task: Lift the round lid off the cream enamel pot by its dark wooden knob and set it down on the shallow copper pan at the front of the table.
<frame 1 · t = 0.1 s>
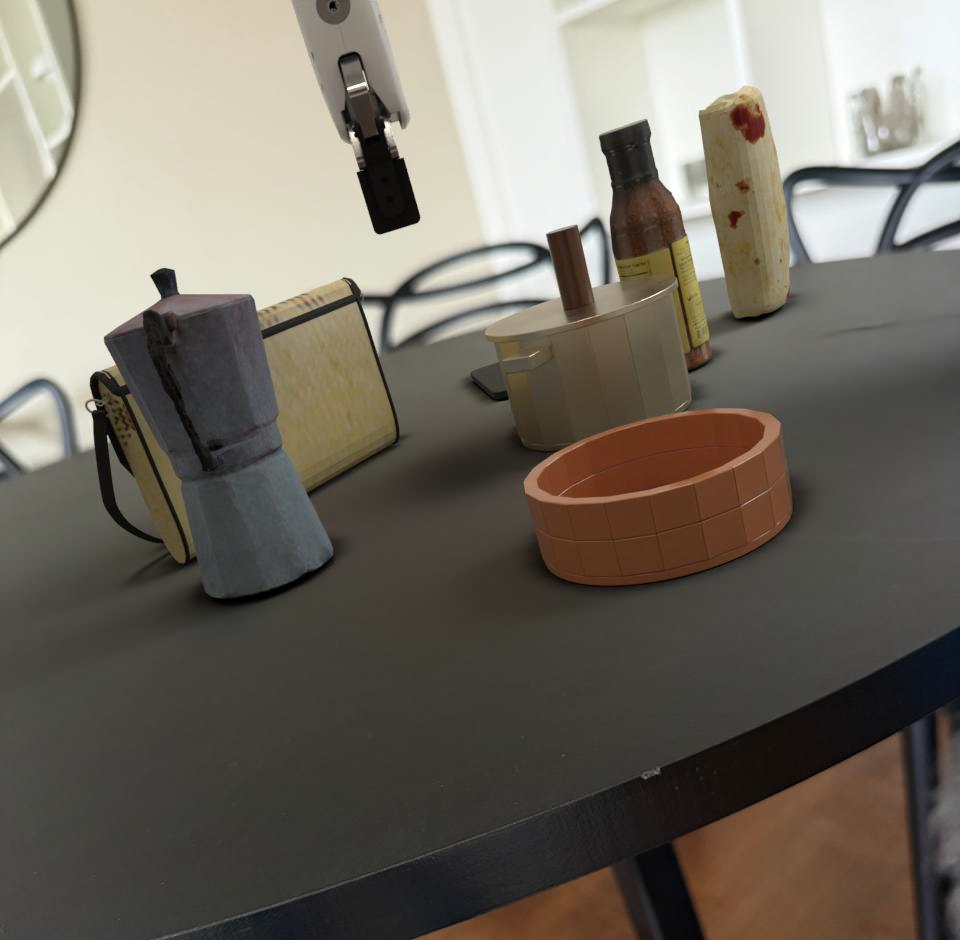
hand: (398, 226, 72), 18 cm above the table, tool pointing down, fingers open, 9 cm apart
phone: (516, 380, 105), on the table
pan: (664, 530, 56), on the table
lid: (580, 311, 77), point 8 cm above the table, touching pot
moka pot: (276, 578, 68), on the table
pot: (605, 419, 81), on the table
clutch purse: (282, 503, 86), on the table
food model: (764, 313, 101), on the table
sauce bottle: (676, 370, 90), on the table
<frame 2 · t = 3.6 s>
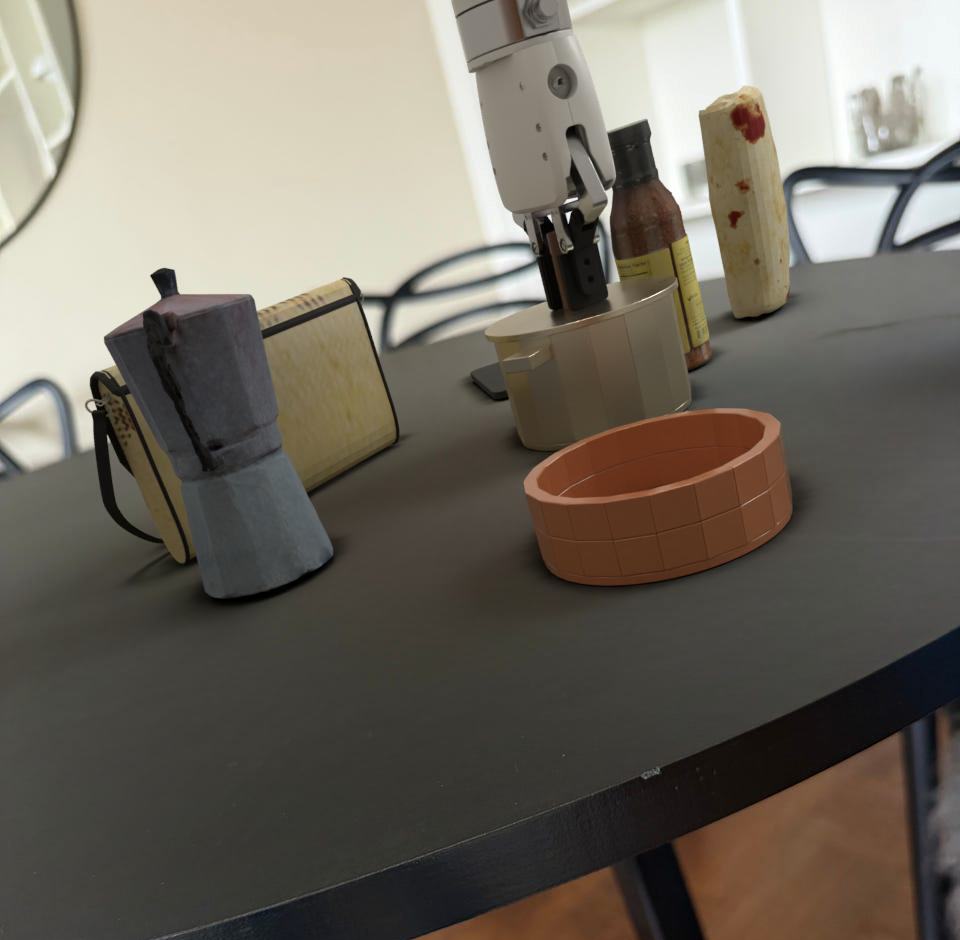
hand: (578, 302, 77), 9 cm above the table, tool pointing down, fingers closed on lid, 2 cm apart
lid: (580, 311, 77), point 9 cm above the table, touching gripper, pot
everything else where it was.
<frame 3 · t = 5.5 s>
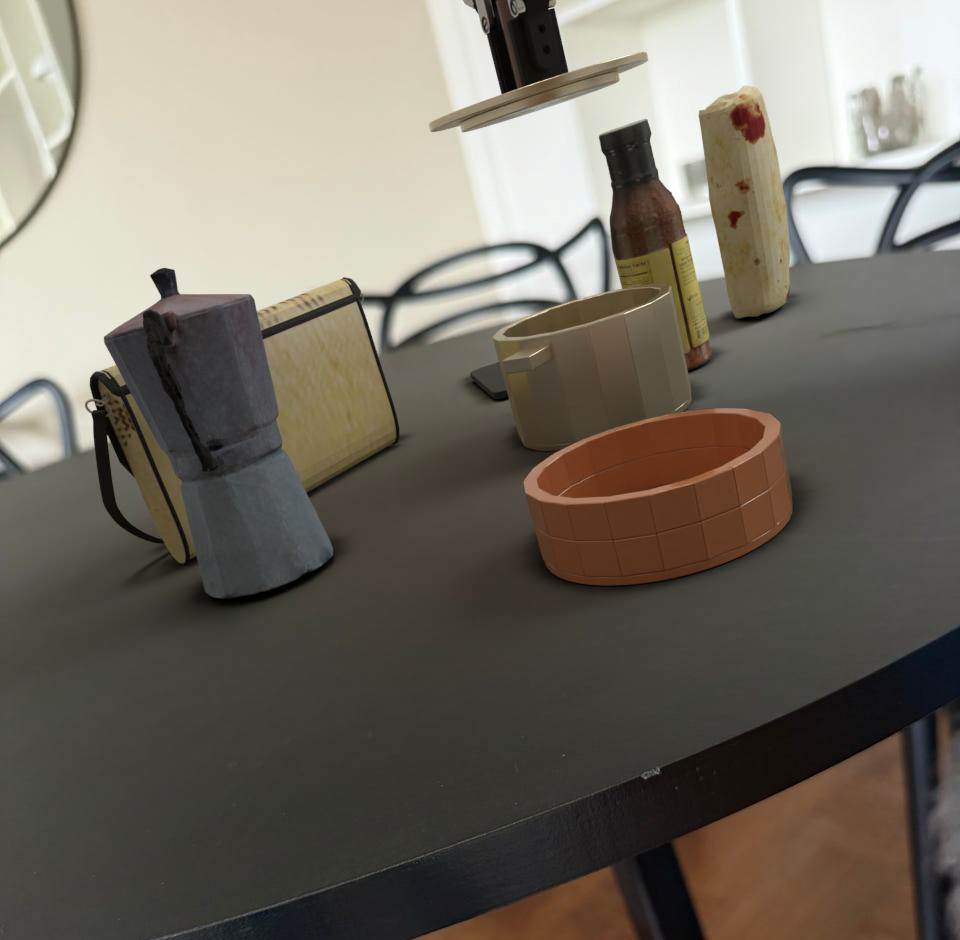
hand: (535, 86, 67), 24 cm above the table, tool pointing down, fingers closed on lid, 2 cm apart
lid: (537, 97, 68), point 23 cm above the table, touching gripper
everything else where it was.
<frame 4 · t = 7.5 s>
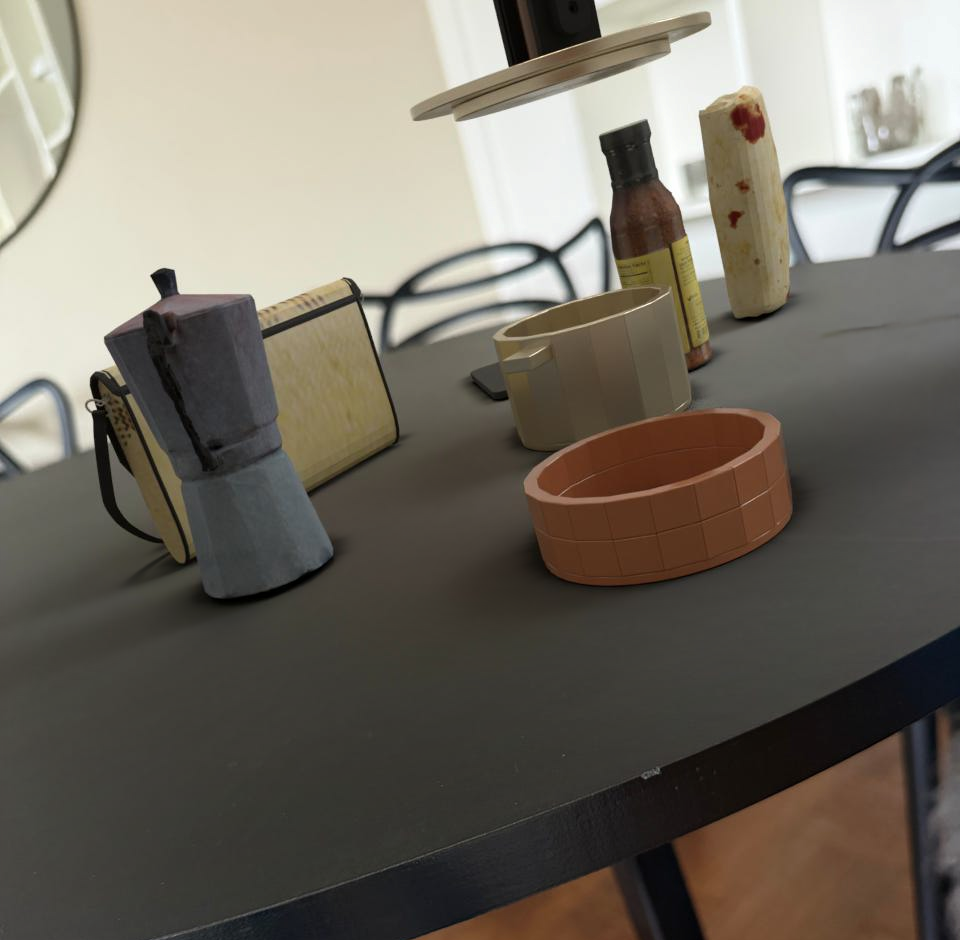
hand: (555, 59, 50), 24 cm above the table, tool pointing down, fingers closed on lid, 2 cm apart
lid: (558, 74, 50), point 23 cm above the table, touching gripper
everything else where it was.
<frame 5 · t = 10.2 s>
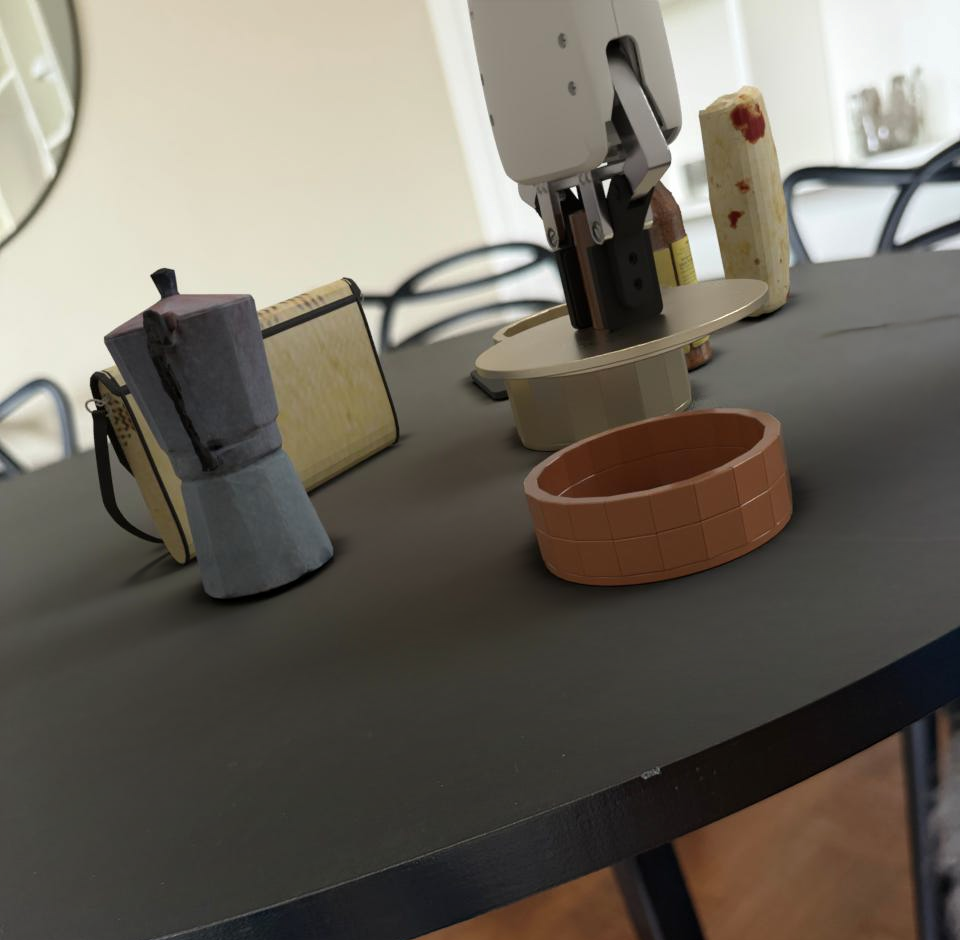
hand: (616, 318, 51), 12 cm above the table, tool pointing down, fingers closed on lid, 2 cm apart
lid: (618, 332, 52), point 11 cm above the table, touching gripper
everything else where it was.
when the fingers open (5 cm above the table, at t = 11.9 s): lid stays where it is, resting on pan.
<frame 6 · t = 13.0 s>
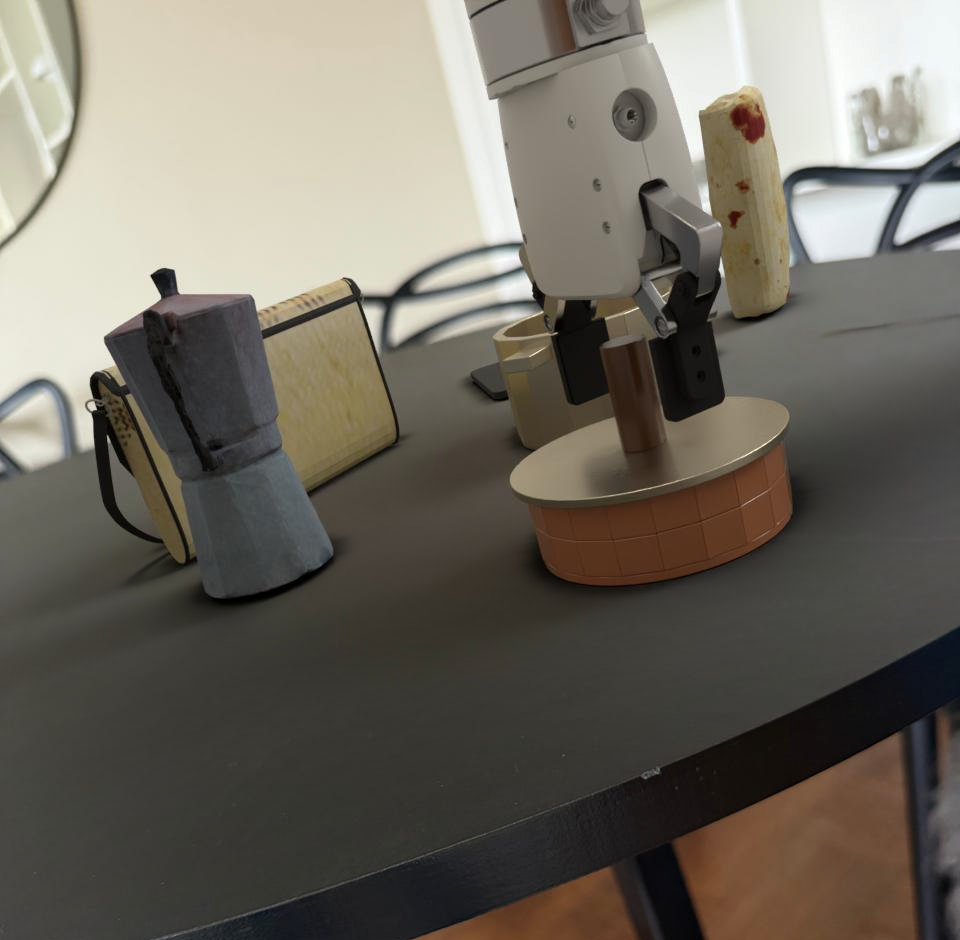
hand: (641, 404, 53), 7 cm above the table, tool pointing down, fingers open, 9 cm apart
lid: (646, 453, 54), point 4 cm above the table, touching pan
everything else where it was.
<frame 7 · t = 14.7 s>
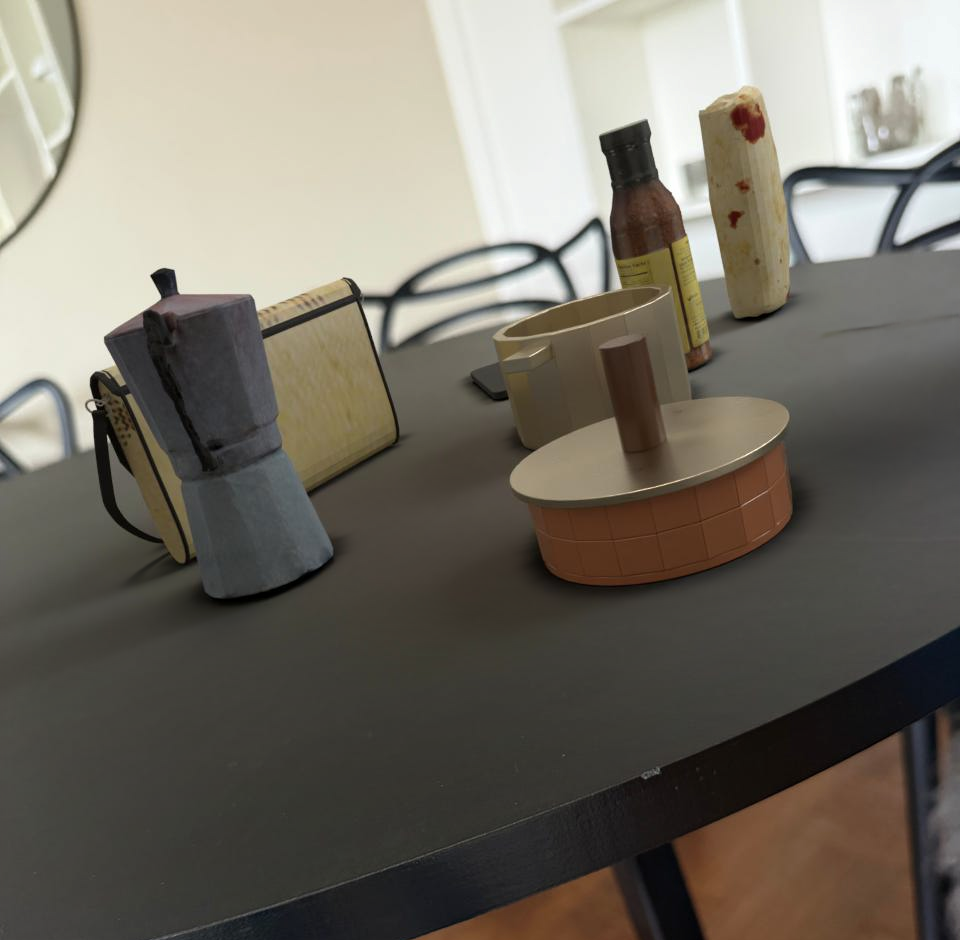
nothing on the table moved.
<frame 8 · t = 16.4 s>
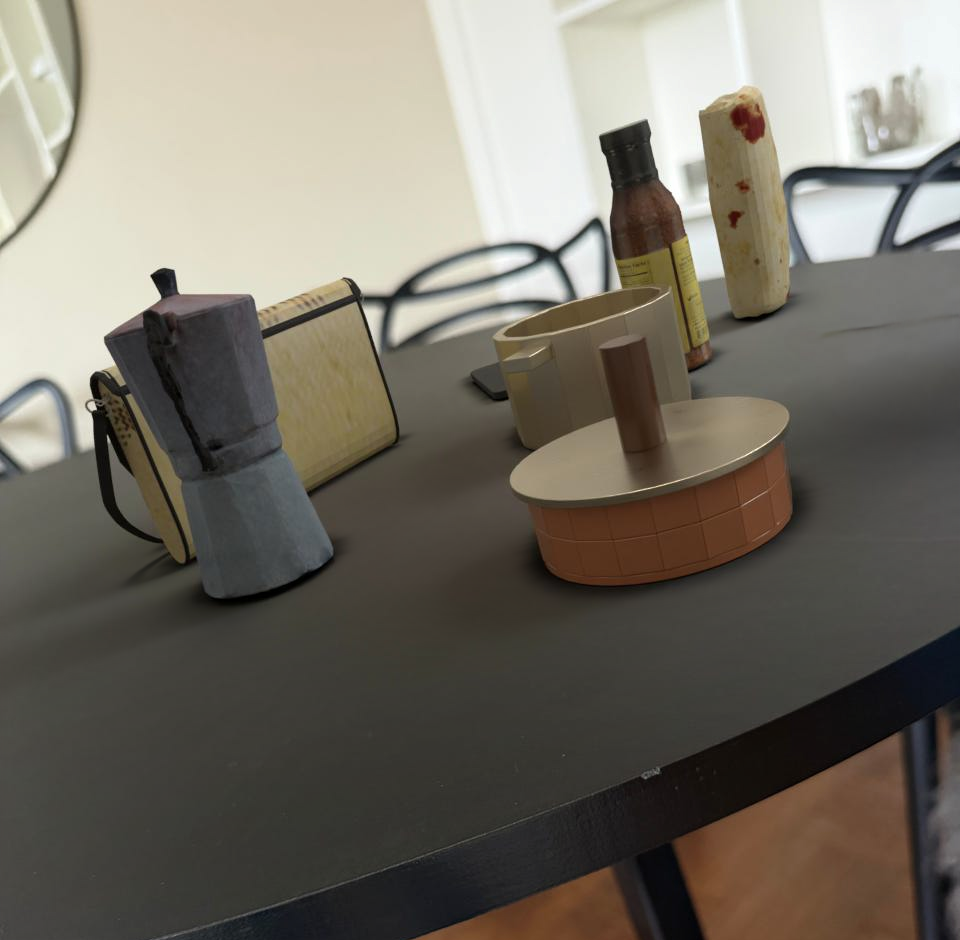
nothing on the table moved.
at the end: lid 0.1 cm off-centre on the pan, point 4.5 cm above the pan's base; lid tilted 0°; the gripper is holding nothing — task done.
